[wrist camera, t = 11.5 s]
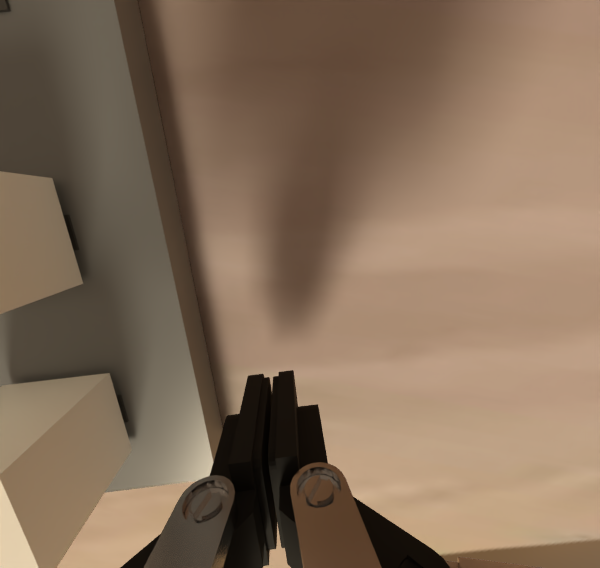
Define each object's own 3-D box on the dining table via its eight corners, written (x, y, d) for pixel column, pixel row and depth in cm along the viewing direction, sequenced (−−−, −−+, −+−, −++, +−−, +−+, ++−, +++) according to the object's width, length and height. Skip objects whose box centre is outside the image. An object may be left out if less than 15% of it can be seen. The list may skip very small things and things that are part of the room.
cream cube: (109, 373, 11) (-2, 476, 7) (131, 449, 12) (46, 583, 8) (2, 385, 11) (-178, 497, 7) (32, 461, 12) (-111, 604, 8)
